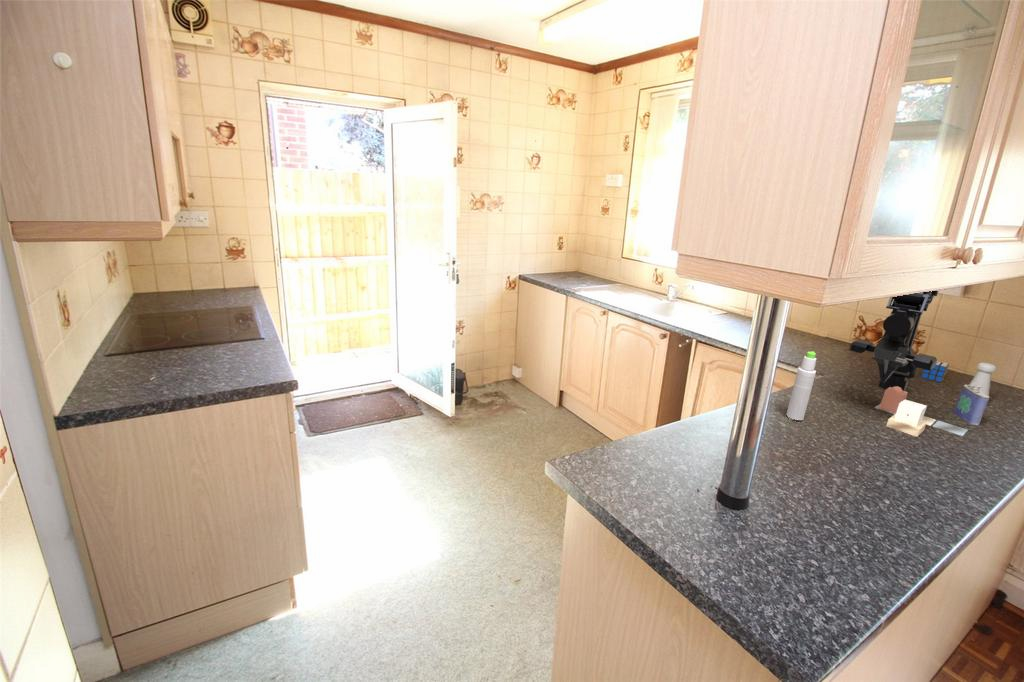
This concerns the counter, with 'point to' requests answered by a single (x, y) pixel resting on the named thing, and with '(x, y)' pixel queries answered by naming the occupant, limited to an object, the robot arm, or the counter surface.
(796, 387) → the bottle
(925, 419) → the board
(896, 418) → the die
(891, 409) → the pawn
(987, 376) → the salt shaker
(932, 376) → the puzzle toy
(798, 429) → the counter surface
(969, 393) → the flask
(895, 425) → the block
